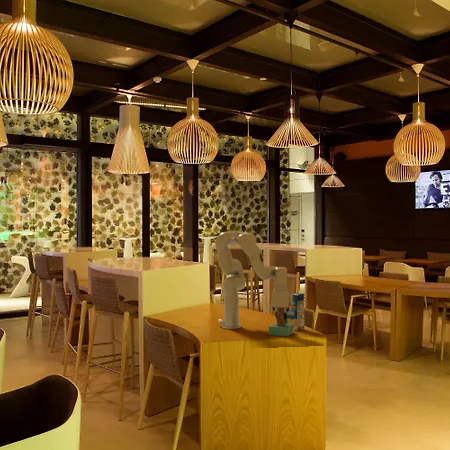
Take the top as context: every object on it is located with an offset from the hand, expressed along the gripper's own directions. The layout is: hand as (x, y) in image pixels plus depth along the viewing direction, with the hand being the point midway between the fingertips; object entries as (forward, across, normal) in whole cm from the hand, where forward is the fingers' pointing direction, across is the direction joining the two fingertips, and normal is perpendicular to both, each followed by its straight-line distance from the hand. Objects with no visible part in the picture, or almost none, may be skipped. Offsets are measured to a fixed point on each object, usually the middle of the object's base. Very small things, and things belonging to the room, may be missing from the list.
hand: (281, 318), depth 308 cm
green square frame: (+9, 0, 0) cm, 9 cm away
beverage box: (+9, +4, +15) cm, 18 cm away
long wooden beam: (+5, 0, 0) cm, 5 cm away
